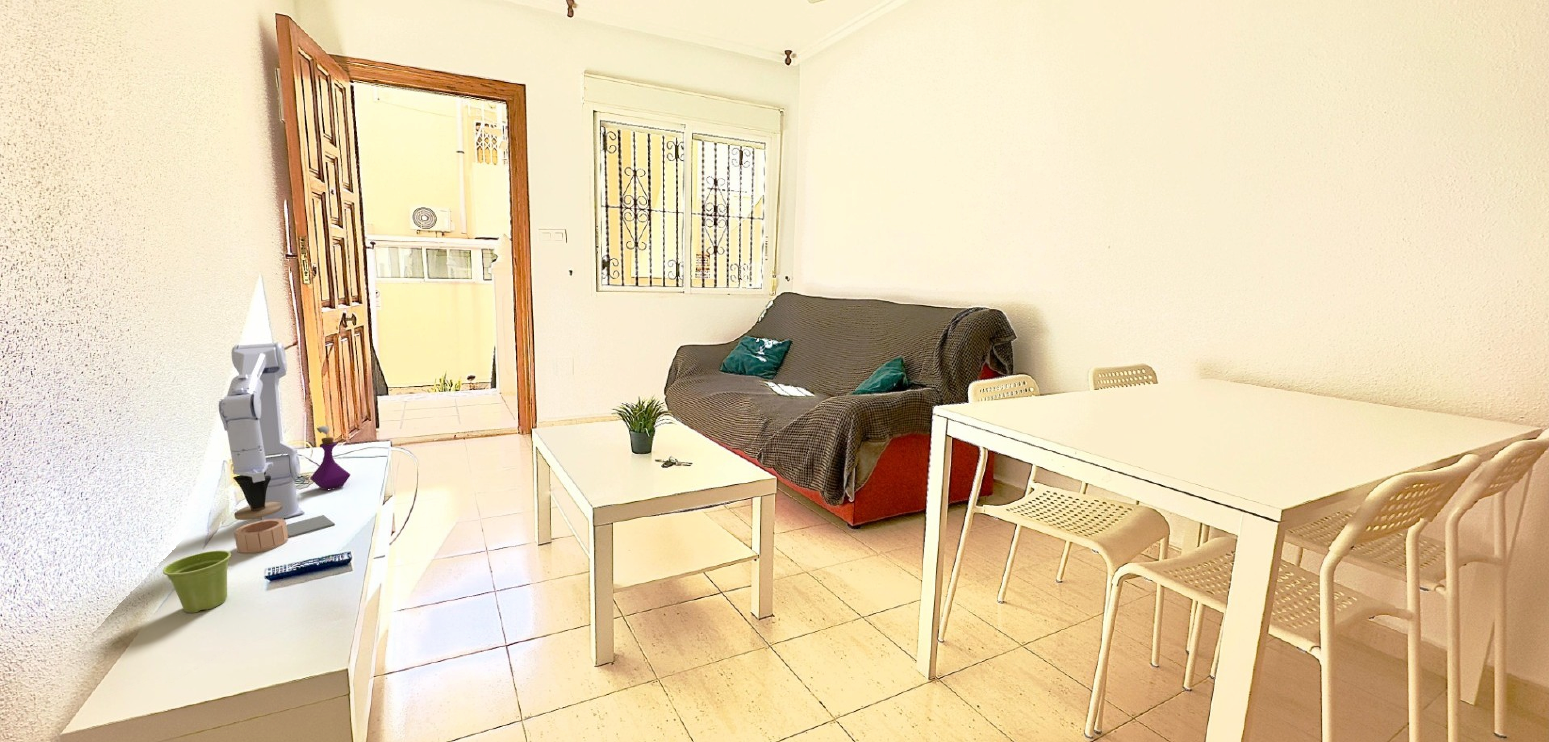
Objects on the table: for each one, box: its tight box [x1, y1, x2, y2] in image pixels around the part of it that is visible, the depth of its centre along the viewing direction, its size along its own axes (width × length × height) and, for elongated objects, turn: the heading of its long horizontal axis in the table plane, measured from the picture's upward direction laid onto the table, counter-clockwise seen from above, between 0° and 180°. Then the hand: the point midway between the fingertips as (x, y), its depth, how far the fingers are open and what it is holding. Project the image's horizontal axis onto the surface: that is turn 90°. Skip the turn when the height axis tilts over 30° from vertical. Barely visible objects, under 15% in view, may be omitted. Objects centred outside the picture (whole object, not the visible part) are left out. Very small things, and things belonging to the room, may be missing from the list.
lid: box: [233, 502, 282, 521], centre depth 144 cm, size 8×8×5 cm
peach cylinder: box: [233, 519, 289, 555], centre depth 145 cm, size 9×9×4 cm
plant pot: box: [162, 549, 232, 614], centre depth 119 cm, size 9×9×9 cm
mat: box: [286, 514, 336, 538], centre depth 156 cm, size 9×9×1 cm
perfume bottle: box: [309, 425, 351, 491], centre depth 183 cm, size 8×8×18 cm
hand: (256, 506), depth 144 cm, fingers closed on lid, 3 cm apart
